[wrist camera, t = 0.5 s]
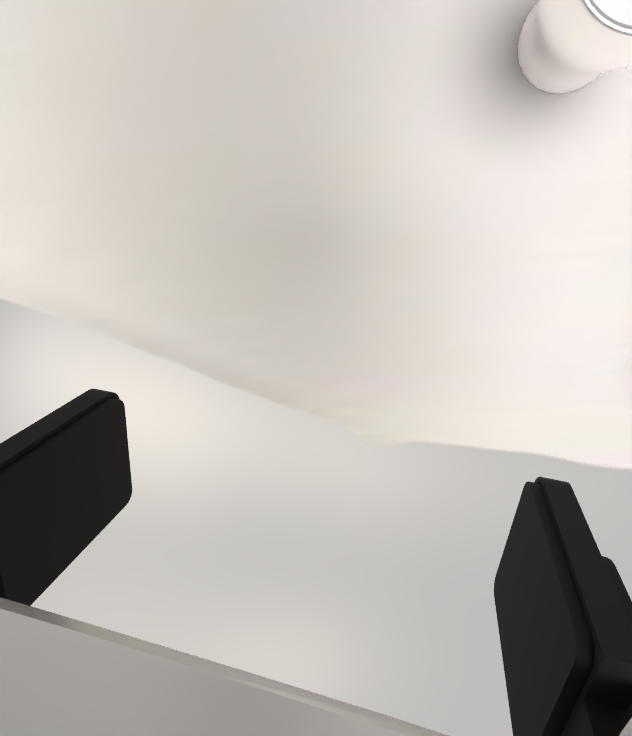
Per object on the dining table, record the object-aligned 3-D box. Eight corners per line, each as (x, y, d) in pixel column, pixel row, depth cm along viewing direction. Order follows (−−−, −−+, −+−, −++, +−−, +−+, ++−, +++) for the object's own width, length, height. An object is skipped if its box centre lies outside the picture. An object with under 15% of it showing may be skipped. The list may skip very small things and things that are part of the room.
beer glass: (598, -57, 28) (746, -274, 15) (649, 49, 29) (829, -61, 16) (490, 30, 31) (531, -84, 17) (541, 124, 32) (616, 85, 19)
